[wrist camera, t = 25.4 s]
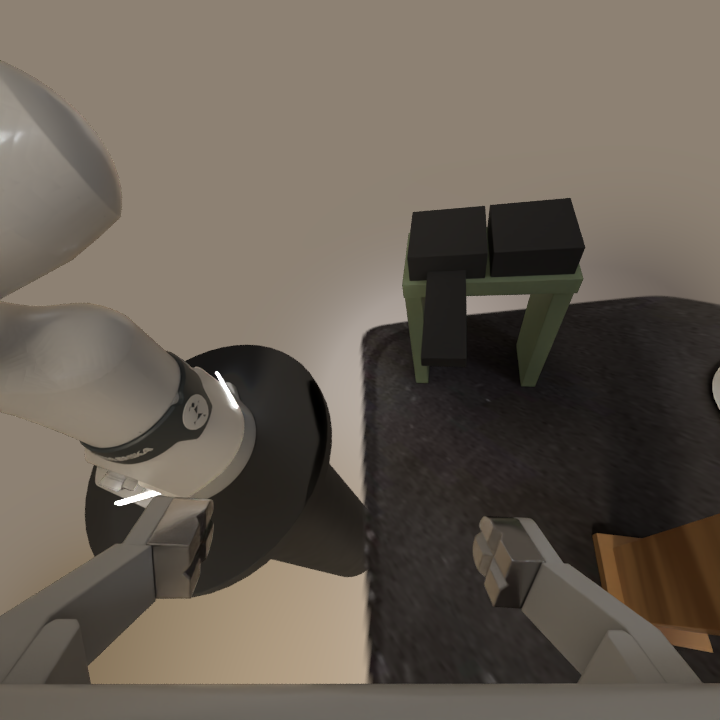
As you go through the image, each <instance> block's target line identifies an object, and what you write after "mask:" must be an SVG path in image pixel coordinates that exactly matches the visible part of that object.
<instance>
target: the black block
mask: <svg viewBox="0 0 720 720" xmlns="http://www.w3.org/2000/svg"><path fill="white" fill-rule="evenodd" d="M487 234H488V249H489V263H490V277H512V276H538V275H563V274H575V272H576V269H577V267H578V264H579V262H580V259H581V257H582V254H583V252H584V249H585V245H584V242H583V238H582V235H581V232H580V229H579V225H578V222H577V218H576V215H575V212H574V208H573V205H572V202H571V198H565V199H555V200H543V201H531V202H520V203H508V204H497V205H490V211H489V220H488V228H487Z"/></svg>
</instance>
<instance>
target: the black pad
mask: <svg viewBox="0 0 720 720" xmlns="http://www.w3.org/2000/svg"><path fill="white" fill-rule="evenodd" d="M487 257H488V245H487V229H486V214H485V206H479V207H467V208H455V209H444V210H432V211H422V212H421V211H420V212H413V215H412V223H411V231H410V239H409V247H408V255H407V261H408V270H409V280H410V281H423V280H427V282H426V295H425V308H424V321H423V334H422V347H421V365H422V366H445V367H466V363H467V324H466V279H478V278H485V274H486V265H487Z"/></svg>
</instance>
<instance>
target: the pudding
mask: <svg viewBox="0 0 720 720" xmlns="http://www.w3.org/2000/svg"><path fill="white" fill-rule="evenodd" d="M712 391H713V396H714V399H715V401H716V403H717V406H718V408H719V409H720V368H719V369H718V370H717V372H716V373H715V375H714V378H713V381H712Z"/></svg>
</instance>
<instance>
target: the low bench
mask: <svg viewBox="0 0 720 720" xmlns="http://www.w3.org/2000/svg"><path fill="white" fill-rule="evenodd" d="M487 228H488V227H486V229H487ZM409 239H410V233H409V235H408V243H407V251H406V260H405V268H404V275H403V284H402V286H403V295H404V298H405V301H406V309H407V317H408V325H409V332H410V340H411V347H412V355H413V363H414V370H415V378H416V383H428V379H429V366H422V365H421V347H422V334H423V321H424V308H425V295H426V282H427V280H423V281H410V280H409V270H408V261H407V255H408V247H409ZM487 245H488V234H487ZM582 281H583V276H582V273H581V269H580V265H579V264H578V267H577V269H576V272H575V274H563V275H538V276H512V277H490V263H489V249H488V257H487V265H486V274H485V278H478V279H466V296H485V295H518V294H519V295H520V294H521V295H522V294H530V298H529V301H528V305H527V309H526V312H525V316H524V319H523V323H522V326H521V330H520V334H519V337H518V341H517V344H516V346H517V355H518V364H519V373H520V382H521V386H530V387H535V385H536V382H537V380H538V378H539V375H540V373H541V370H542V368H543V366H544V363H545V361H546V358H547V356H548V354H549V351H550V349H551V347H552V344H553V342H554V339H555V337H556V335H557V332H558V330H559V327H560V325H561V323H562V320H563V318H564V315H565V313H566V311H567V308H568V306H569V304H570V301H571V299H572V296H573V294H574V293H577V292H578V290H579V288H580V285H581V283H582Z"/></svg>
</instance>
